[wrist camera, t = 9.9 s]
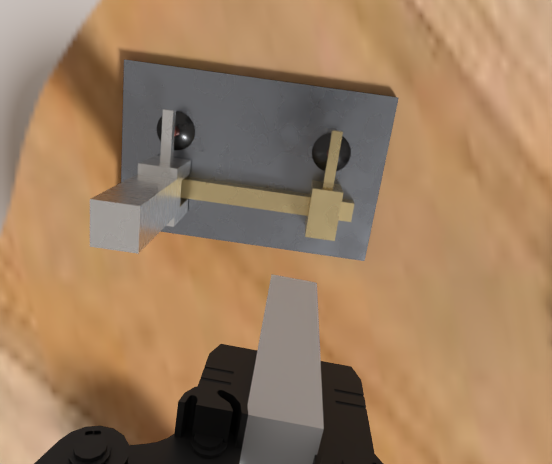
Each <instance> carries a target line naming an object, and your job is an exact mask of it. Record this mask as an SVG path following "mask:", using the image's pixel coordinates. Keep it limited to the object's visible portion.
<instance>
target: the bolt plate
mask: <svg viewBox="0 0 552 464" xmlns="http://www.w3.org/2000/svg"><path fill="white" fill-rule="evenodd" d="M397 103H398V98H397V97H390V96H383V95H376V94H369V93H361V92H354V91H347V90H340V89H333V88H325V87H318V86H311V85H304V84H297V83H289V82H282V81H275V80H268V79H261V78H253V77H246V76H239V75H232V74H225V73H218V72H210V71H203V70H196V69H189V68H182V67H174V66H167V65H160V64H153V63H146V62H138V61H131V60H124V86H123V128H122V170H121V182H123V181H125V180H127V179H129V178H131V177H133V176H134V175H136V174H138V163H140V162H142V161H144V160H146V159H148V158H151V157H153V156H155V155H161V135H162V116H163V109H170V110H176V119H175V126H176V127H178V128H179V131H180V132H179V135H177V136H175V137H174V152H173V157H174V158H181V159H188V160H191V169H190V174H189V175H188V176H187V177H194V178H201V179H208V180H215V181H222V182H229V183H236V184H243V185H250V186H257V187H264V188H271V189H278V190H285V191H292V192H299V193H306V194H310V191H311V184H312V180H314V181H321V182H323V179H324V174H325V168H326V162H327V151H328V149H329V144H330V138H331V132H332V130H338V131H343V135H342V140H341V146H340V152H339V157H338V163H337V169H336V175H335V180H334V183H335V184H340V185H341V187H342V190H343V199H348V200H353V201H354V209H353V214H352V220H351V222H347V221H340V220H338V226H337V231H336V237H335V241H331V240H324V239H317V238H310V237H305V222H306V216H305V215H298V214H291V213H284V212H277V211H270V210H263V209H256V208H249V207H243V206H236V205H229V204H222V203H215V202H208V201H201V200H194V199H188V210H187V213H186V214H185V215H184V216H183V217H182V219H181V220H180V221H179V222H178V223H177V224H176V225H175V226H174V227H171V226H165V227H164V228H163V229H162V230H161V232H168V233H175V234H182V235H189V236H196V237H203V238H209V239H216V240H223V241H230V242H237V243H244V244H251V245H258V246H265V247H272V248H279V249H285V250H292V251H299V252H306V253H313V254H320V255H327V256H334V257H341V258H348V259H354V260H361V261H365V256H366V251H367V246H368V242H369V237H370V232H371V227H372V222H373V218H374V213H375V208H376V203H377V198H378V194H379V189H380V184H381V179H382V175H383V170H384V165H385V160H386V155H387V151H388V146H389V141H390V136H391V131H392V127H393V122H394V117H395V112H396V107H397ZM185 199H187V198H185Z"/></svg>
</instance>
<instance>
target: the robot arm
mask: <svg viewBox="0 0 552 464" xmlns="http://www.w3.org/2000/svg"><path fill="white" fill-rule="evenodd" d="M363 395H364V393H363V388H362V382H361V379H360V378H359V377H358V375H357V374H356V373H355V371H354V370H353V368H352V367H350V366H345V365H339V364H334V363H329V362H323V361H320V340H319V319H318V298H317V283H315V282H310V281H304V280H299V279H294V278H288V277H283V276H277V275H271V281H270V286H269V292H268V297H267V302H266V308H265V313H264V319H263V324H262V329H261V335H260V340H259V346H258V351H257V350H251V349H246V348H240V347H235V346H230V345H224V344H220V345H219V346H218V347H217V348H216V349H214V350H213V351H212V352H211V353H210V354H209V356H208V359H207V362H206V365H205V368H204V370H203V373H202V376H201V380H200V381H199V384H198V387H194V388H192V389H191V390H189V391H187V392H185V393H184V395H183V396H182V397H181V399H180V400H179V401H178V409H177V418H176V426H175V434H173V435H172V436H170V437H169V438H167V439H164V440H161V441H159V442H155V443H149V444H139V445H129V444H128V442H127V441H126V439H125V437H124V435H122V434H121V433H119V432H118V431H116V430H115V429H113V428H108V427H104V426H92V427H84V428H81V429H78V430H75V431H73V432H71V433H69V434H68V435H66V436H65V437H63V438H62V439H60V440H59V441H58V442H57V443H56V444H55V445H54V446H53V447H52V448H50V449H49V450H48V451H47V452H46V453H45V454H44V455H43V456H42V457H41V458H40V459H39V460H38V461H37V462H35V463H34V464H383V463H382V462H381V461H380V460H379V458H378V457H377V456H376V455H375V454H374V449H373V443H372V438H371V432H370V427H369V421H368V416H367V410H366V409H365V408H366V405H365V399H364V397H363Z"/></svg>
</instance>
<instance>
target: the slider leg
mask: <svg viewBox="0 0 552 464" xmlns="http://www.w3.org/2000/svg"><path fill="white" fill-rule="evenodd" d="M175 119H176V110H170V109H163V116H162V135H161V155H155V156H153V157H151V158H148V159H146V160H144V161H142V162H140V163H138V174H136V175H134V176H133V177H131V178H129V179H127V180H125V181H123V182H121V183H119V184H117V185H116V186H114V187H112V188H110V189H108V190H106V191H104V192H102V193H100V194H99V195H97V196H95V197H93V198H91V199H90V247H97V248H104V249H111V250H118V251H124V252H131V253H138V254H139V252H140V251H141V250H142V249H143V248H144V247H145V246H146V245H147V244H148V243H149V242H150V241H151V240H152V239H153V238H154V237H155V236H156V235H157V234H158V233H159V232H160V231H161V230H162V229H163V228H164V227H165V226H171V227H174V226H175V225H176V224H177V223H178V222H179V221H180V220H181V219H182V217H183V216H184V215H185V214H186V213H187V210H188V199H185V198H180V197H181V182H182V180H183V179H184V178H186V177H187V176H188V175H189V174H190V169H191V160H188V159H181V158H174V157H173V152H174V137H175V136H177V135H179V132H180V131H179V128H178V127H176V126H175Z"/></svg>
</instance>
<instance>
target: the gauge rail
mask: <svg viewBox="0 0 552 464" xmlns="http://www.w3.org/2000/svg"><path fill="white" fill-rule="evenodd" d="M342 135H343V131H338V130H332V132H331V138H330V144H329V149H328V151H327V162H326V168H325V174H324V179H323V182H321V181H314V180H312V184H311V191H310V194H306V193H299V192H292V191H285V190H278V189H271V188H264V187H257V186H250V185H243V184H236V183H229V182H222V181H215V180H208V179H201V178H194V177H186V178H184V179H183V180H182V182H181V197H180V198H187V199H194V200H201V201H208V202H215V203H222V204H229V205H236V206H243V207H249V208H256V209H263V210H270V211H277V212H284V213H291V214H298V215H305V216H306V222H305V237H310V238H317V239H324V240H331V241H335V237H336V231H337V226H338V220H340V221H347V222H351V220H352V214H353V209H354V201H353V200H348V199H343V190H342V187H341V185H340V184H335V183H334V180H335V175H336V169H337V163H338V157H339V152H340V146H341V140H342Z"/></svg>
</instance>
